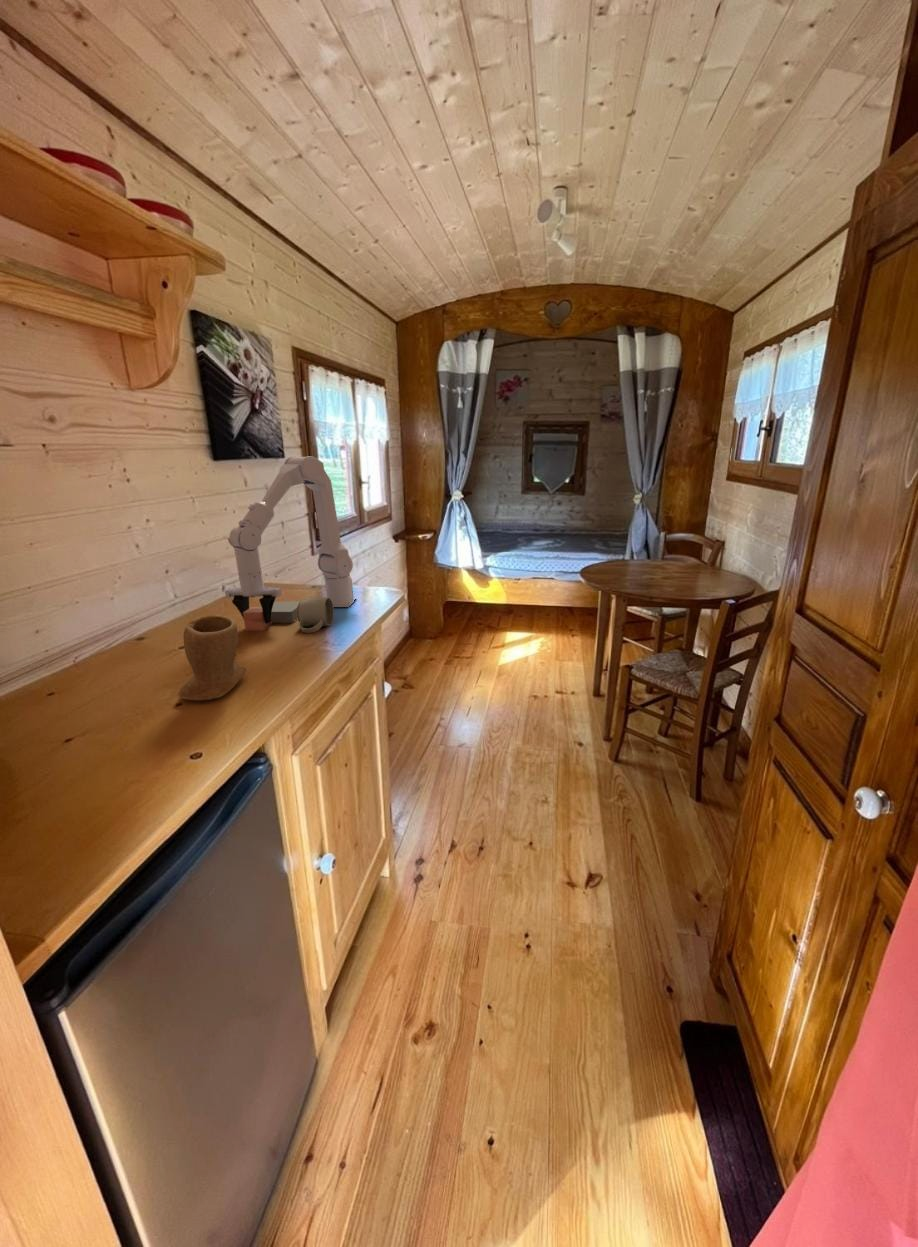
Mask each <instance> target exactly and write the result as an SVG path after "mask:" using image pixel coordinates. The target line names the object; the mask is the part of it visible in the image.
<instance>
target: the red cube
mask: <svg viewBox="0 0 918 1247" xmlns="http://www.w3.org/2000/svg"><path fill="white" fill-rule="evenodd" d="M243 617H244V619H243V622H244V626H245V631H265V630H267V627H268V626H269V627H270V626H272V625H273V623H271V621H270V622H269V623H265V620H264V614H263V609H262V606H250V607H249V609H247V610H246V611H244V612H243ZM243 617H242V618H243ZM269 627H268V628H269Z"/></svg>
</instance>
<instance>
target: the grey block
mask: <svg viewBox="0 0 918 1247" xmlns="http://www.w3.org/2000/svg"><path fill="white" fill-rule="evenodd" d="M299 602H300V601H274V604H273V607H272V613H271V622H293V621H294V620H296V619H297V618H298V617H297V606H298V604H299ZM297 620H298V619H297ZM297 620H296V621H297ZM294 622H295V621H294ZM294 622H293V623H294Z"/></svg>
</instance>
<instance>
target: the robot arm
mask: <svg viewBox="0 0 918 1247" xmlns="http://www.w3.org/2000/svg"><path fill="white" fill-rule="evenodd" d="M300 484H303V485H304V486H306V487H307V488H309V489H310V490H312V495H313V500H314V506H315V513H316V517H317V525H318V530H319V535H320V542H321V545H320V547H319V548H318V551H317V552H318V558H317V567H318V569H319V570H320V571H321V572H322V576H323V578H324V587H325V595H326V597H329V598H330V599H331V600H332V602H333V607H348V608H350V607H351V606H352V605H353V604H354V603H355V601H354V599H353V598H355V597H354V589H353V588H354V586H353V579H352V577H351V573H352V571H353V568H354V567H353V560H352V558H351V557H350V555H349V551H348V548H347V547H345V545H343V543H342V541H341V535H340V530H339V529H340V528H339V522H338V514H337V510H336V503H335V496H334V491H333V484H332V481H331V478H330V476H329V474H328V473H327V472H326V471H325V466H324V463H323V461H321V460H320V459H318V458H316V457H315V456H311V455H310V456H309V455H308V456H290V457H287V459H285V461H284V462H283V464H282V465H281V466H280V467H279V470H278V474H277V476H276V477H275V478H274V481H273V482H272V483H271V485H270V487H269V488H268V490H267V492H266V493H265V495H264V497H263V498H262V500H261V501H255V502H254V503H253V504H249V506H248V509H249V510H248V511H247V513H246V515H245V516H244V517H243V519H242V520H239V521H238V523H237V524H238V526H236V527H235V526H234V527H233V528H232V529H231V531H230V532H229V537H228V538H227V541H228V543H229V545H230V546H231V547H232V548H233V549H234V556H235V564H236V568H237V573H238V579H239V586H240V587H235V588H234V587H233V588H227V589H225V590H224V593H225V598H231V597H232V598H233V599H232V601H231V602H232V604H233V605H234V606H235V608H237V610H238V612H239V614H240V615H241V616H242V618H243V620H244V617H243V612H244V611H246V610H247V609H249V608H250V597H261V598H259V604H260V607H262V609H263V614H264V620H265V623H269V622H270V621H271V613H272V607H273V604H274V602H276V598H279V597H281V596H282V588H281V587H271V586H270V587H269V586H265V584H264V579H263V577H264V576H263V573H262V572H263V571H262V567H261V560H260V558H261V557H260V554H259V546H260V545H261V544H262V535H263V533H264V531H266V529H267V527H268V526H269V524H270V523H271V521H272V520H273V518H274V517H275V511H274V509H275V507H276V506H277V505H278V504H279V502H280V501H281V500H282V499H283V497H284V496H285V495H286V494H287V493H288V491H289V490H290V489H291V488H292V487H294V486H298V485H300ZM353 602H354V603H353ZM352 603H353V604H352ZM351 604H352V605H351ZM350 605H351V606H350ZM349 606H350V607H349Z"/></svg>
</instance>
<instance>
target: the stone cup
mask: <svg viewBox="0 0 918 1247" xmlns="http://www.w3.org/2000/svg"><path fill="white" fill-rule="evenodd" d="M238 644H239V631H238V626H237V623H236V621H235V620H234V619H233V618H231V617H229V616H225V615H221V614H209V615H202V616H198V617H196V618H193V619H192V620H190V621H189V622H188V623H187V625H186V626H185V627H184V631H183V649H184V652H185V656H186V659H187V661H188V663H189V664H190V666H191V669H192V672H193V673H194V674H193V676H192V677H191V678H189V679H188V680H187V681H186V682H184V684H183V685H182V686H181V687H180V688H179V690H178V691H177V696H178V698H181V699H183V700H188V701H209V700H215V699H218V698H222V697H223V696H225V695H226V694H227V693H229V692H230V691H231V690H232V689H233V688H234V687H236V684H238V682H239V681H240V680H241V678H242V677H243V676H244V675H245V674H246V673H247V670H248V669H247V667H246V666H244V665H241V664H239V663H237V662H235V660H236V659H235V658H236V654H237V648H238V646H239V645H238Z"/></svg>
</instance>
